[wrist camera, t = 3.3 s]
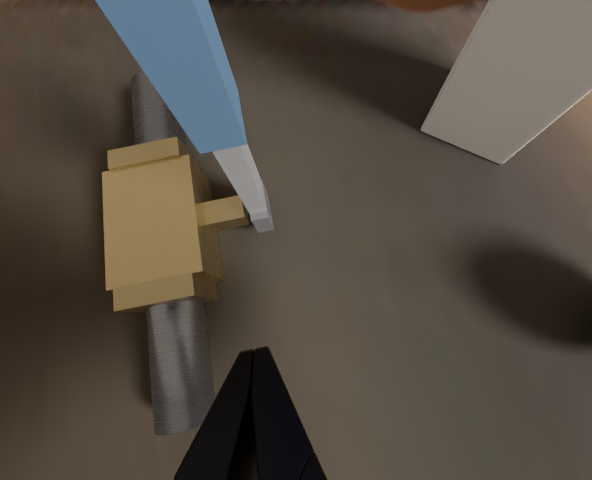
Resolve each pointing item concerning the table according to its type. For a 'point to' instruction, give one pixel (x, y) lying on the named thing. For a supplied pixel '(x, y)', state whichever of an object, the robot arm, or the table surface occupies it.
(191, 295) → the valve
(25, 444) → the table surface
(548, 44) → the milk
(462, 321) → the table surface
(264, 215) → the lever
